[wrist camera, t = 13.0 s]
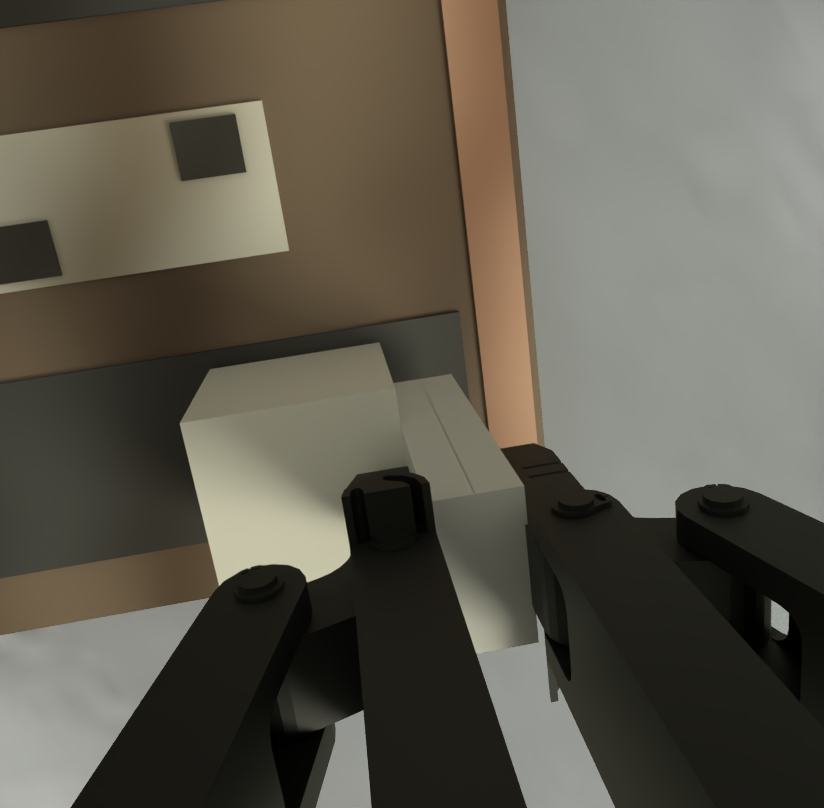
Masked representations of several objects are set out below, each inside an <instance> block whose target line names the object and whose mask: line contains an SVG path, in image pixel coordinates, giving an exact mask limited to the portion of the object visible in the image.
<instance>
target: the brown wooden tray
mask: <svg viewBox="0 0 824 808" xmlns="http://www.w3.org/2000/svg"><path fill="white" fill-rule="evenodd" d="M378 342H379V343H380V345H381V348H382V351H383V354H384V357H385V360H386V363H387V366H388V369H389V372H390V375H391V378H392V380H393V383H397V382H404V381H410V380H416V379H423V378H429V377H435V376H442V375H448V374H452V376H453V377H454V379H455V380H456V382H457V384H458V385H459V387H460V388H461V390H462V391H463V393H464V394H465V396H466V397H467V399H468V400H469V402H470V403H471V405H472V407H473V408H474V410H475V411H476V413H477V414H478V416H479V417H480V419H481V420H482V422H483V423H484V425H485V426H486V428H487V430H488V431H489V433H490V434H491V436H492V437H493V439H494V440H495V442H496V443H497V445H498V446H499V448H500V449H501V448H507V447H513V446H519V445H525V444H531V443H535V444H538V445H540V446H543V447H545V446H544V434H543V423H542V412H541V400H540V389H539V377H538V366H537V354H536V343H535V332H534V320H533V309H532V297H531V286H530V275H529V263H528V252H527V240H526V229H525V217H524V206H523V195H522V183H521V172H520V160H519V149H518V137H517V126H516V115H515V103H514V92H513V80H512V69H511V57H510V46H509V35H508V23H507V12H506V0H0V635H4V634H10V633H15V632H21V631H26V630H32V629H38V628H43V627H49V626H54V625H60V624H65V623H71V622H77V621H82V620H88V619H93V618H99V617H104V616H110V615H116V614H121V613H127V612H132V611H138V610H143V609H149V608H155V607H160V606H166V605H171V604H177V603H183V602H188V601H194V600H199V599H205V598H210V597H211V595H212V594H213V592H214V591H215V590H216V589H217V588H218V587H219V583H218V579H217V575H216V571H215V567H214V563H213V558H212V554H211V550H210V546H209V542H208V538H207V534H206V530H205V526H204V521H203V517H202V513H201V509H200V505H199V501H198V497H197V493H196V489H195V484H194V480H193V476H192V472H191V468H190V464H189V460H188V456H187V452H186V447H185V443H184V439H183V435H182V431H181V427H180V422H181V420H182V418H183V416H184V415H185V413H186V411H187V409H188V407H189V406H190V404H191V402H192V400H193V399H194V397H195V395H196V393H197V391H198V390H199V388H200V386H201V384H202V382H203V381H204V379H205V377H206V375H207V373H208V372H209V370H210V369H214V368H221V367H227V366H233V365H239V364H246V363H252V362H258V361H265V360H271V359H277V358H284V357H290V356H296V355H302V354H309V353H315V352H321V351H328V350H334V349H340V348H347V347H353V346H359V345H365V344H372V343H378Z"/></svg>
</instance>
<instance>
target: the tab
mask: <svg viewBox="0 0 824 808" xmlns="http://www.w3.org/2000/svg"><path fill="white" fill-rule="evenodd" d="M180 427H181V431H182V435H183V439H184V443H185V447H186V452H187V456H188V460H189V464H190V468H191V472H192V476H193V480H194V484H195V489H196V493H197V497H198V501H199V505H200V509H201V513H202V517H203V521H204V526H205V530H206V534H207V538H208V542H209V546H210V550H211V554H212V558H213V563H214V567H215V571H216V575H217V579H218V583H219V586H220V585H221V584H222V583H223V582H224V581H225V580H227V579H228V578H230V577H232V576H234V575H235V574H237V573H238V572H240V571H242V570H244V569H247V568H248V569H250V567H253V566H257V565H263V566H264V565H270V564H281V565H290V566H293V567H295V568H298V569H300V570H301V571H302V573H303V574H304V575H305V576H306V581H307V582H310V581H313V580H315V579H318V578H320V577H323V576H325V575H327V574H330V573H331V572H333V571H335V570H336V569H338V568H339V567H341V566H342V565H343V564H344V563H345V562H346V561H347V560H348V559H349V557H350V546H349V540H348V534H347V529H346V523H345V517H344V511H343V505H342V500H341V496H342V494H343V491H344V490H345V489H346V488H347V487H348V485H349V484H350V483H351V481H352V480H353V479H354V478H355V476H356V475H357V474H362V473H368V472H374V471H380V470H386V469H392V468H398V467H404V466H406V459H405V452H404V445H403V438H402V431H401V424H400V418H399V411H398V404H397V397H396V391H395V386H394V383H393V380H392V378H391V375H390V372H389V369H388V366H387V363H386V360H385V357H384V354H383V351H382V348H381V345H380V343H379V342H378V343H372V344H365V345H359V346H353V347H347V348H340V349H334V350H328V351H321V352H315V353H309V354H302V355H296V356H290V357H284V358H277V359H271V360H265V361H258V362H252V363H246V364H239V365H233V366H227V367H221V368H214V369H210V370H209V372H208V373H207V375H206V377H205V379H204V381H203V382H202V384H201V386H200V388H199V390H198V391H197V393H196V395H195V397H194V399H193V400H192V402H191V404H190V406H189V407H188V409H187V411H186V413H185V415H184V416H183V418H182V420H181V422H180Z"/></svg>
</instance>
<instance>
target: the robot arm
mask: <svg viewBox="0 0 824 808" xmlns="http://www.w3.org/2000/svg"><path fill="white" fill-rule="evenodd" d="M394 386H395V391H396V397H397V404H398V411H399V418H400V424H401V431H402V438H403V445H404V452H405V459H406V466H404V467H398V468H392V469H386V470H380V471H374V472H368V473H362V474H357V475H356V476H355V478H354V479H353V480H352V481H351V483H350V484H349V485H348V487H347V488H346V489H345V490H344V491H343V494H342V496H341V500H342V505H343V511H344V517H345V523H346V529H347V534H348V540H349V546H350V557H349V559H348V560H347V561H346V562H345V563H344V564H343V565H342V566H341V567H339V568H338V569H336V570H335V571H333V572H331V573H330V574H327V575H325V576H323V577H320V578H318V579H315V580H313V581H310V582H307V581H306V576H305V575H304V574H303V573H302V571H301V570H300V569H298V568H295V567H293V566H290V565H281V564H270V565H264V566H263V565H257V566H253V567H250V569H248V568H247V569H244V570H242V571H240V572H238V573H237V574H235V575H234V576H232V577H230V578H228V579H227V580H225V581H224V582H223V583H222V584H221V585H220V586H219V587H218V588H217V589H216V590H215V591H214V592H213V594H212V595H211V597H210V598H209V600H208V601H207V603H206V604H205V606H204V607H203V609H202V610H201V612H200V613H199V615H198V616H197V618H196V619H195V621H194V622H193V624H192V625H191V627H190V628H189V630H188V631H187V633H186V634H185V636H184V637H183V639H182V641H181V642H180V644H179V645H178V647H177V648H176V650H175V651H174V653H173V654H172V656H171V657H170V659H169V660H168V662H167V663H166V665H165V666H164V668H163V669H162V671H161V672H160V674H159V675H158V677H157V678H156V680H155V681H154V683H153V684H152V686H151V687H150V689H149V690H148V692H147V693H146V695H145V696H144V698H143V699H142V701H141V702H140V704H139V705H138V707H137V708H136V710H135V711H134V713H133V714H132V716H131V717H130V719H129V720H128V722H127V723H126V725H125V726H124V728H123V729H122V731H121V733H120V734H119V736H118V737H117V739H116V740H115V742H114V743H113V745H112V746H111V748H110V749H109V751H108V752H107V754H106V755H105V757H104V758H103V760H102V761H101V763H100V764H99V766H98V767H97V769H96V770H95V772H94V773H93V775H92V776H91V778H90V779H89V781H88V782H87V784H86V785H85V787H84V788H83V790H82V791H81V793H80V794H79V796H78V797H77V799H76V800H75V802H74V803H73V805H72V806H71V808H315V807H316V804H317V801H318V797H319V794H320V790H321V787H322V784H323V780H324V777H325V773H326V770H327V767H328V763H329V760H330V756H331V753H332V749H333V746H334V743H335V724H334V723H335V722H337V721H340V720H342V719H344V718H346V717H349V716H351V715H353V714H355V713H358V712H360V711H362V710H364V721H365V733H366V745H367V757H368V768H369V780H370V792H371V804H372V808H527V807H526V804H525V801H524V797H523V794H522V791H521V788H520V785H519V782H518V779H517V776H516V773H515V770H514V767H513V764H512V761H511V758H510V755H509V752H508V749H507V746H506V743H505V740H504V737H503V734H502V731H501V728H500V725H499V721H498V718H497V715H496V712H495V709H494V706H493V703H492V700H491V697H490V694H489V691H488V688H487V685H486V682H485V679H484V676H483V673H482V670H481V667H480V664H479V661H478V658H477V655H476V654H478V653H483V652H489V651H494V650H499V649H505V648H510V647H515V646H521V645H526V644H532V643H537V642H539V641H538V630H537V619H536V614H537V616H538V618H539V620H540V622H541V624H542V626H543V628H544V633H545V644H546V656H547V667H548V678H549V689H550V698H551V702H555V701H558V693H557V690H558V689H559V687H560V689H561V691H562V693H563V695H564V697H565V700H566V702H567V704H568V706H569V708H570V710H571V713H572V715H573V717H574V719H575V721H576V723H577V726H578V728H579V730H580V732H581V734H582V736H583V739H584V741H585V743H586V745H587V747H588V749H589V752H590V754H591V756H592V758H593V760H594V762H595V765H596V767H597V769H598V771H599V773H600V775H601V778H602V780H603V782H604V784H605V786H606V788H607V790H608V793H609V795H610V797H611V799H612V801H613V803H614V806H615V808H824V523H823V522H820V521H818V520H816V519H814V518H812V517H810V516H808V515H805V514H803V513H801V512H799V511H797V510H795V509H792V508H790V507H788V506H786V505H784V504H782V503H779V502H777V501H775V500H773V499H771V498H769V497H766V496H764V495H762V494H760V493H757V492H754V491H751V490H748V489H745V488H740V487H733V486H730V485H727V484H718V486H716V484H712V485H706V486H704V487H700V488H695V489H691V490H689V491H687V492H685V493H683V494H681V495H680V496H679V497H678V499H677V500H676V501H675V506H676V518H634V517H633V516H632V515H631V514H630V513H629V512H628V511H627V510H626V509H625V508H624V506H623V505H622V504H621V503H620V502H619V501H618V500H617V499H615V498H614V497H612V496H611V495H609V494H606V493H603V492H599V491H596V490H585V489H584V488H583V487H582V486H581V485H580V483H579V482H578V481H577V480H576V479H575V477H574V476H573V475H572V474H571V473H570V472H568V469H567V468H566V467H565V465H564V464H563V463H561V461H560V459H559V458H558V457H557V456H556V455H555V453H554V452H553V451H552V450H550V449H547V448H545V447H543V446H540V445H538V444H535V443H531V444H525V445H519V446H513V447H507V448H501V449H500V448H499V446H498V445H497V443H496V442H495V440H494V439H493V437H492V436H491V434H490V433H489V431H488V430H487V428H486V426H485V425H484V423H483V422H482V420H481V419H480V417H479V416H478V414H477V413H476V411H475V410H474V408H473V407H472V405H471V403H470V402H469V400H468V399H467V397H466V396H465V394H464V393H463V391H462V390H461V388H460V387H459V385H458V384H457V382H456V380H455V379H454V377H453V376H452V374H448V375H442V376H435V377H429V378H423V379H416V380H410V381H404V382H397V383H394ZM771 600H773V601H774V602H776V603H777V604H779V605H780V606H782V607H783V608H784V609H785V610H786V611H788V612H789V631H788V635H785V634H783V633H781V632H779V631H778V630H776V629H775V628H773V627H772V626H771Z"/></svg>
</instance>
